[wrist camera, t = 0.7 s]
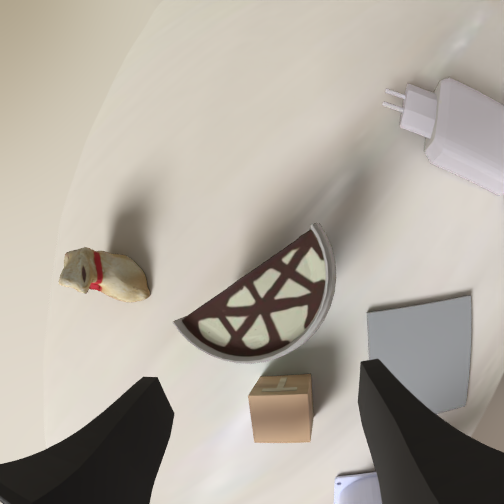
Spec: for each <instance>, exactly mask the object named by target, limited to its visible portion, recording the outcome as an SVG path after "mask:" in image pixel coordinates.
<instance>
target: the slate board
mask: <svg viewBox="0 0 504 504" xmlns="http://www.w3.org/2000/svg"><path fill="white" fill-rule="evenodd" d="M367 326H368V346H369V360H373V359H379V360H380V361H381V362H382V363H383V364H384V365H385V366H386V367H387V368H388V369H389V371H390V372H391V373H392V374H393V375H394V376H395V377H396V378H397V379H398V380H399V381H400V382H401V383H402V384H403V385H404V386H405V387H406V388H407V389H408V390H409V391H410V392H411V393H412V394H413V395H414V396H415V397H416V398H417V399H418V400H420V401H421V402H422V403H423V404H424V405H425V406H426V407H428V408H429V409H430V410H431V411H432V412H434V413H435V414H438V413H442V412H445V411H449V410H453V409H456V408H460V407H463V406H465V405H466V398H467V390H468V381H469V370H470V355H471V296H470V295H467V296H462V297H457V298H452V299H447V300H441V301H436V302H430V303H425V304H419V305H413V306H407V307H400V308H394V309H387V310H380V311H373V312H367Z"/></svg>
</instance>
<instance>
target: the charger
mask: <svg viewBox="0 0 504 504" xmlns="http://www.w3.org/2000/svg"><path fill="white" fill-rule="evenodd" d="M385 92H386V93H388V94H391V95H394V96H397V97H400V98H403V99H404V100H403V106H402V107H399V106H396V105H394V104H391V103H388V102H385V101H384V102H383V104H382V105H383V106H385V107H388V108H391V109H394V110H397V111H399V112H401V117H400V128H403V129H406V130H409V131H411V132H414V133H416V134H419V135H421V136H424V137H426V140H425V146H424V152H425V154H426V156H427V158H428V160H429V161H430V163H431V164H433V165H435V166H438V167H440V168H442V169H445V170H447V171H449V172H451V173H454V174H456V175H458V176H460V177H462V178H464V179H466V180H468V181H471V182H473V183H475V184H477V185H479V186H481V187H483V188H485V189H487V190H488V191H490V192H492V193H494V194H496V195H498V196H500V195H502V194H504V105H503V104H501V103H499V102H497V101H496V100H494V99H492V98H490V97H488V96H487V95H485V94H483V93H481V92H479V91H477V90H475V89H473V88H471V87H469V86H467V85H465V84H463V83H461V82H459V81H456V80H454V79H452V78H450V77H448V78H446V79H443V80H441V81H440V82H439V84H438V85H437V87H436V89H435V91H434V93H432V92H429V91H427V90H424V89H422V88H419V87H417V86H414V85H411V84H409V83H407V87H406V91H405V94H402V93H399V92H396V91H393V90H390V89H386V90H385Z"/></svg>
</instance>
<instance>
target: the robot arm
mask: <svg viewBox="0 0 504 504" xmlns="http://www.w3.org/2000/svg"><path fill="white" fill-rule="evenodd" d="M358 405H359V411H360V416H361V421H362V426H363V430H364V433H365V436H366V439H367V443H368V446H369V449H370V453H371V456H372V459H373V463H374V466H375V469H376V472H372V473H364V474H356V475H347V476H338V477H336V478H335V491H334V504H504V453H503V452H501V451H498V450H496V449H493V448H491V447H489V446H487V445H485V444H482V443H480V442H479V441H477V440H475V439H473V438H471V437H469V436H467V435H465V434H464V433H462V432H461V431H459V430H457V429H456V428H454V427H453V426H451V425H450V424H448V423H447V422H445V421H444V420H443V419H441V418H440V417H439V416H437V415H436V414H435V413H434V412H432V411H431V410H430V409H429V408H428V407H426V406H425V405H424V404H423V403H422V402H421V401H420V400H418V399H417V398H416V397H415V396H414V395H413V394H412V393H411V392H410V391H409V390H408V389H407V388H406V387H405V386H404V385H403V384H402V383H401V382H400V381H399V380H398V379H397V378H396V377H395V376H394V375H393V374H392V373H391V372H390V371H389V369H388V368H387V367H386V366H385V365H384V364H383V363H382V362H381V361H380V360H379V359H373V360H367V361H362V362H361V366H360V382H359V394H358ZM173 419H174V412H173V410H172V408H171V406H170V403H169V401H168V399H167V397H166V395H165V393H164V391H163V389H162V386H161V384H160V382H159V380H158V377H143V378H141V379H140V380H139V381H138V382H136V383H135V384H134V385H133V386H132V387H131V388H130V389H129V390H127V391H126V392H125V393H124V394H123V395H122V396H121V397H120V398H119V399H117V400H116V401H115V402H114V403H113V404H112V405H111V406H109V407H108V408H107V409H106V410H105V411H104V412H102V413H101V414H100V415H99V416H97V417H96V418H95V419H94V420H92V421H91V422H90V423H88V424H87V425H86V426H85V427H83V428H82V429H80V430H79V431H77V432H76V433H74V434H73V435H71V436H70V437H68V438H66V439H65V440H63V441H61V442H59V443H57V444H55V445H53V446H51V447H50V448H48V449H46V450H44V451H41V452H39V453H36V454H34V455H32V456H29V457H26V458H23V459H19V460H16V461H12V462H8V463H4V464H0V502H2V503H3V504H149V503H150V498H151V493H152V488H153V485H154V481H155V478H156V476H157V473H158V470H159V467H160V464H161V461H162V458H163V456H164V453H165V450H166V447H167V444H168V441H169V438H170V434H171V429H172V424H173ZM338 482H341V483H338Z"/></svg>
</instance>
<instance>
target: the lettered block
mask: <svg viewBox="0 0 504 504" xmlns="http://www.w3.org/2000/svg"><path fill="white" fill-rule="evenodd" d="M248 398H249V406H250V413H251V421H252V428H253V436H254V443H300V442H310V441H311V433H312V425H313V399H312V383H311V374H301V375H284V376H260V378H259V380H258V381H257V383H256V384H255V386H254V387H253V389H252V391H251V392H250V394H249V395H248Z"/></svg>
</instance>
